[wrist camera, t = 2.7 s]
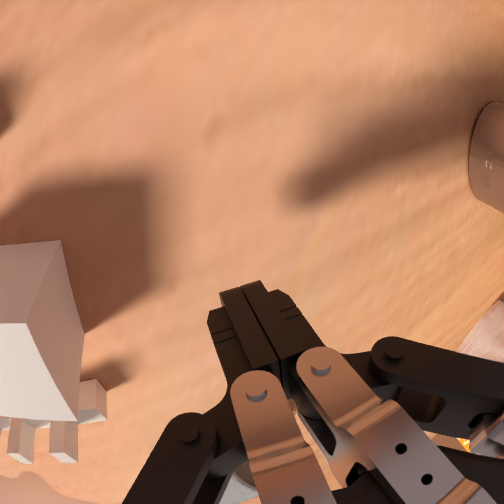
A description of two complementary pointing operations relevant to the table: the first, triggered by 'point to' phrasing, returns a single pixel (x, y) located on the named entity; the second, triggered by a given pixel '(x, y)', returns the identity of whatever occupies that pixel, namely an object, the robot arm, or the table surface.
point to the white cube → (38, 334)
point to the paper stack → (487, 336)
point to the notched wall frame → (57, 427)
